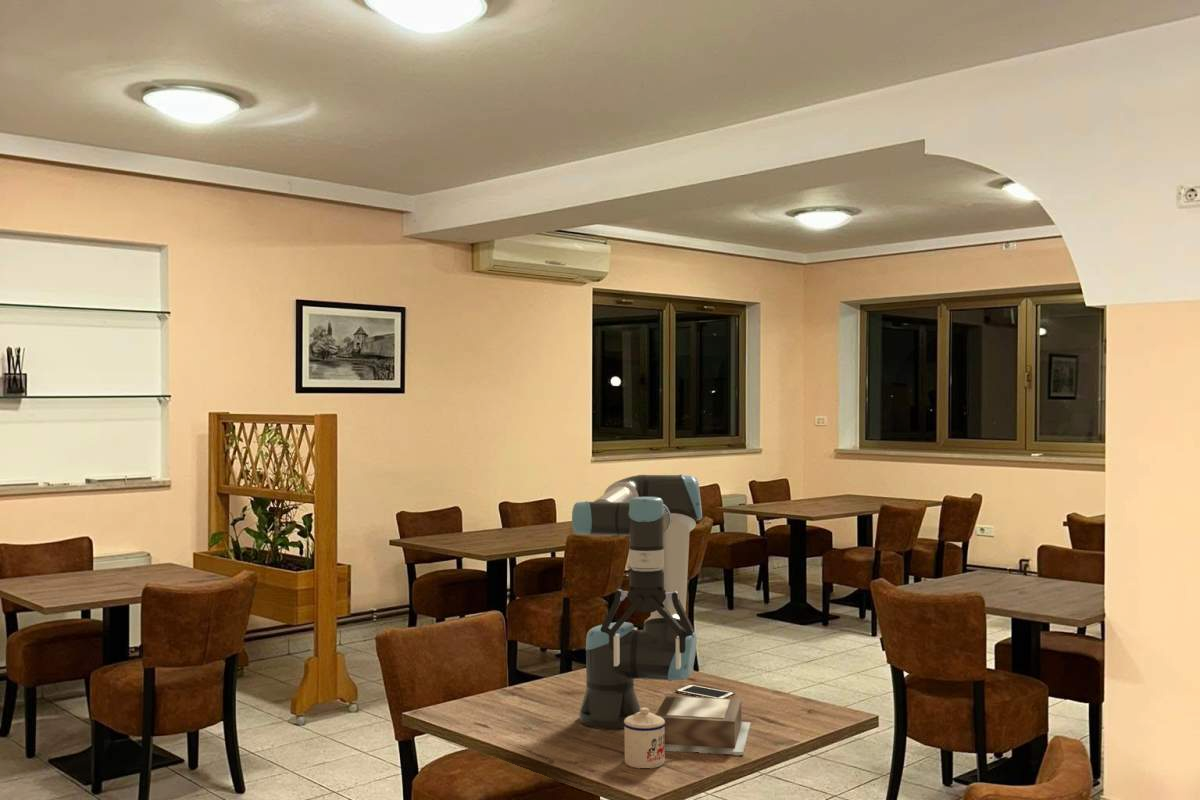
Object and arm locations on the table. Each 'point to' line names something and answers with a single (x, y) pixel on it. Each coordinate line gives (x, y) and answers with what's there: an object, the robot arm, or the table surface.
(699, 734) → the plinth
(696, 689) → the cell phone
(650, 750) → the teacup with lid
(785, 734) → the table surface
